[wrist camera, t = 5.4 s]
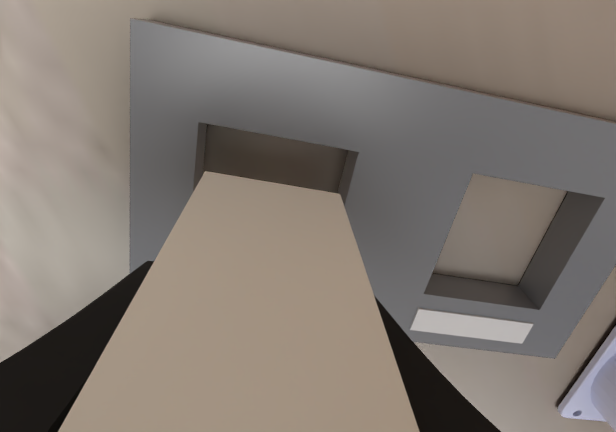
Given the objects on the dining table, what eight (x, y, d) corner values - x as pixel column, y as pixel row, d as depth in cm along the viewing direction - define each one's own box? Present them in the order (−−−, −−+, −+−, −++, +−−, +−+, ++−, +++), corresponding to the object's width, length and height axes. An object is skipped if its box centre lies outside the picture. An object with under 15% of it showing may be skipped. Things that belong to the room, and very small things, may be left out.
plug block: (340, 194, 11) (431, 469, 4) (312, 299, 13) (345, 623, 6) (205, 171, 11) (51, 441, 4) (194, 283, 13) (76, 619, 5)
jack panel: (653, 130, 16) (698, 141, 14) (533, 332, 20) (556, 360, 19) (149, 19, 13) (129, 18, 11) (143, 282, 18) (128, 309, 16)
